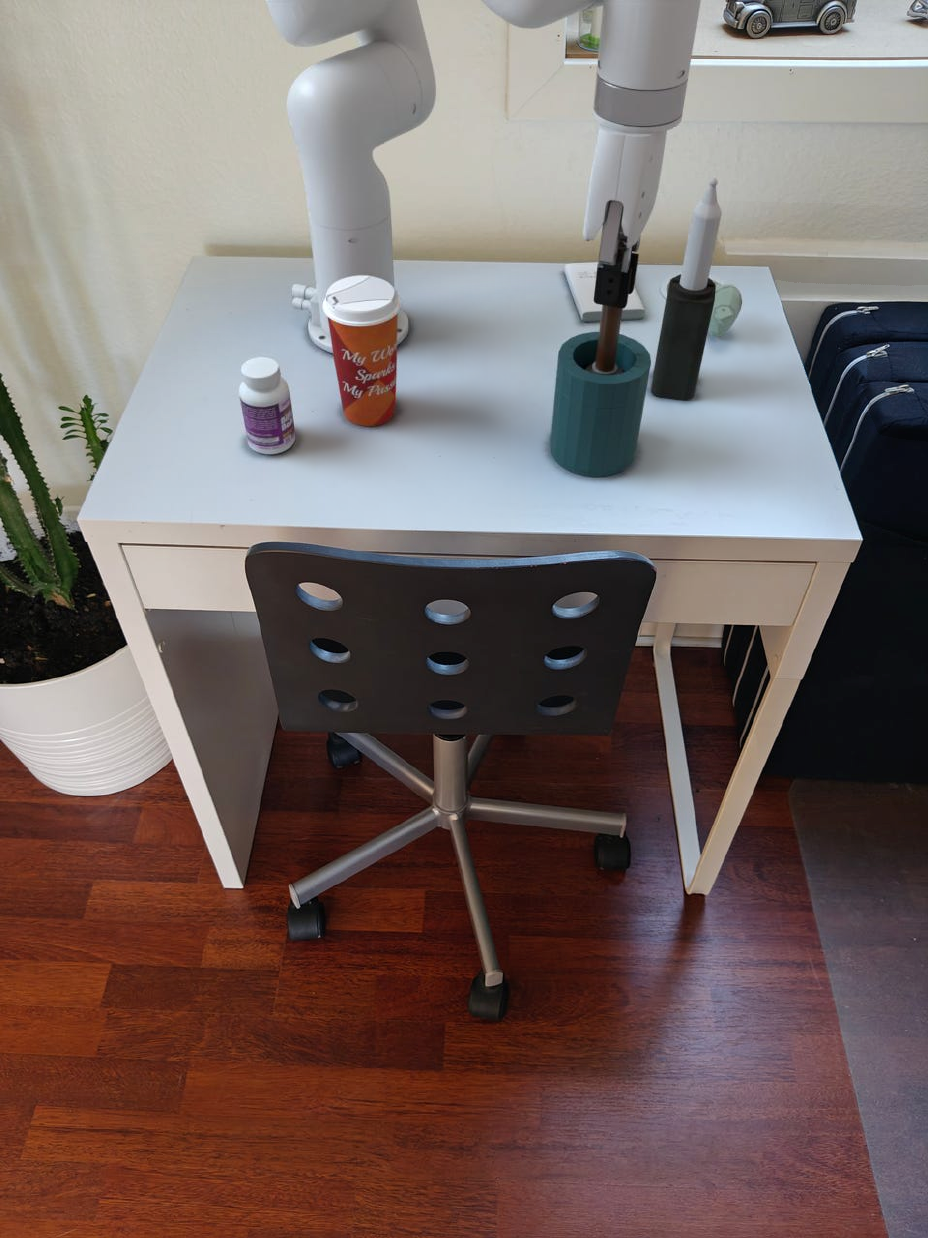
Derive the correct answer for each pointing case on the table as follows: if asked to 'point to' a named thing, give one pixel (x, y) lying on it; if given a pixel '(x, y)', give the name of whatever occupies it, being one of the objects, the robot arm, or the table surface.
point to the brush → (608, 341)
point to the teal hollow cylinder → (598, 407)
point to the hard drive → (583, 293)
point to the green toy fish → (724, 309)
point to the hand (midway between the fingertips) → (613, 296)
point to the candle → (688, 307)
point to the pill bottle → (266, 406)
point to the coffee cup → (364, 346)
